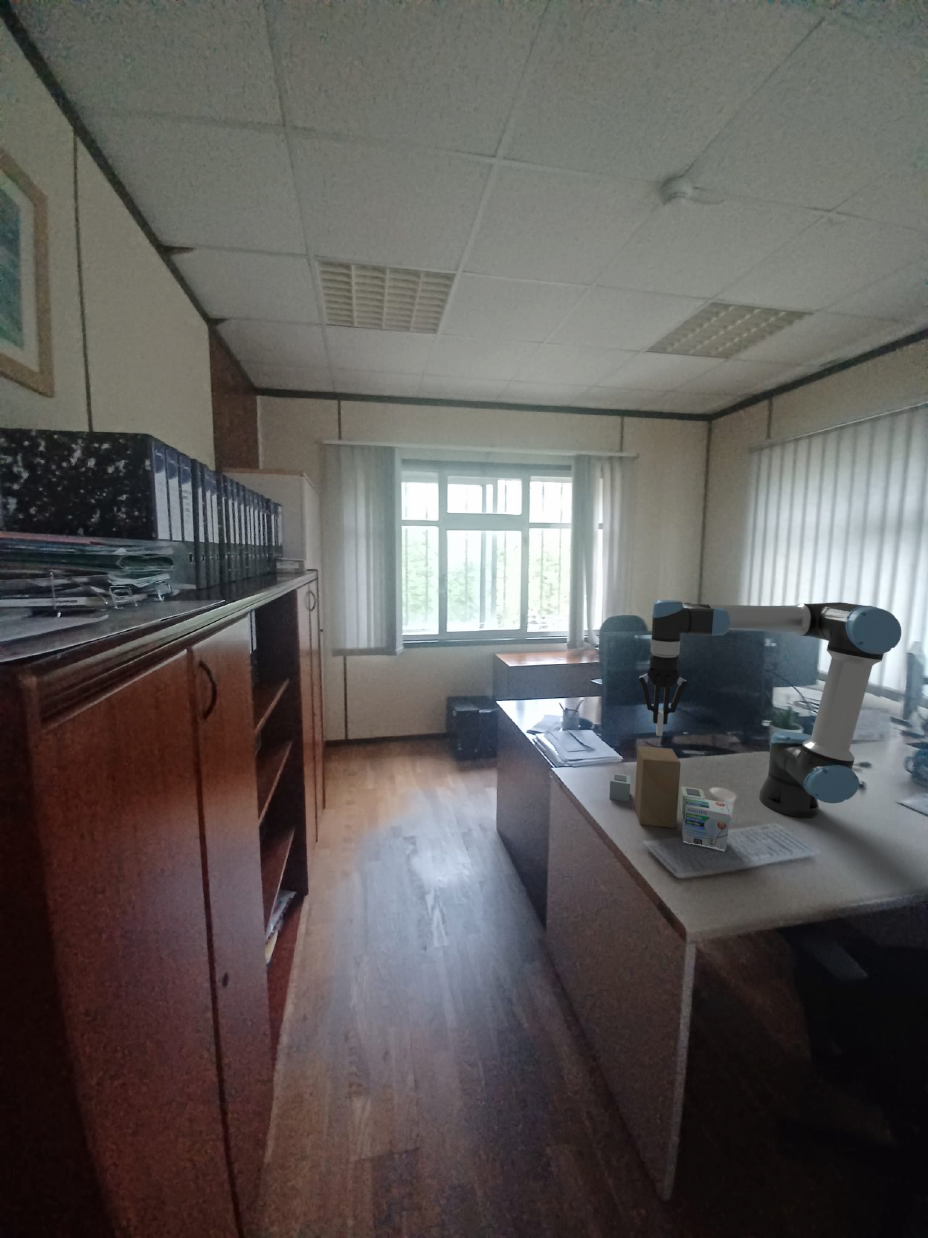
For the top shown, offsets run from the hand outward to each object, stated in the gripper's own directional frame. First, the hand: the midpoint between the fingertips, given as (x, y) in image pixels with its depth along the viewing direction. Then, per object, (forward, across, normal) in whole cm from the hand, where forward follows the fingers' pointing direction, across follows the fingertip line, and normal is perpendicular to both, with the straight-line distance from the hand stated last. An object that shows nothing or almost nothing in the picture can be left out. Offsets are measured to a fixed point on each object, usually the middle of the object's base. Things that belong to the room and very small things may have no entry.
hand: (659, 734), depth 133 cm
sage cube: (+26, -11, -8) cm, 29 cm away
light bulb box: (+26, -12, +8) cm, 30 cm away
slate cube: (+26, +10, -10) cm, 30 cm away
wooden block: (+26, 0, 0) cm, 26 cm away
